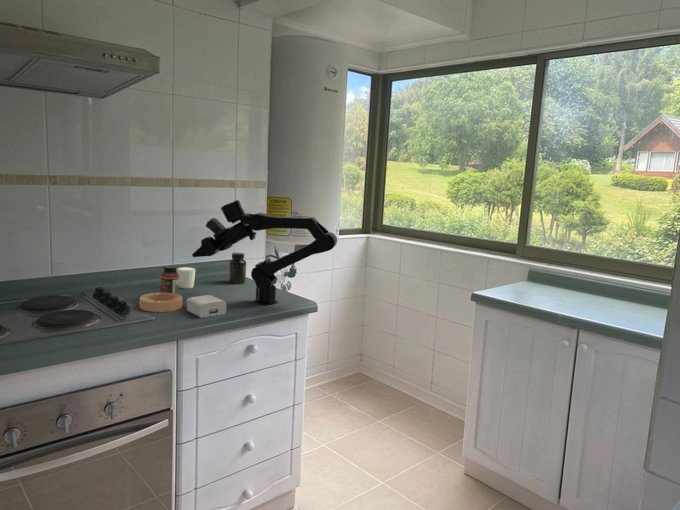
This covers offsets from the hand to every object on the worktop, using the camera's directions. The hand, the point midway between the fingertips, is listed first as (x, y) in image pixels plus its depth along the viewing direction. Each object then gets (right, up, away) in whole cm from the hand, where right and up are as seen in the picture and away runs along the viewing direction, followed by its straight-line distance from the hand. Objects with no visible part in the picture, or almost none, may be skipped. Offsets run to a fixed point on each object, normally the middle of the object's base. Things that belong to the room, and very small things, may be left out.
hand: (198, 253), depth 184 cm
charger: (+5, -19, -15) cm, 25 cm away
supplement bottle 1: (-9, -16, -3) cm, 18 cm away
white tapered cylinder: (-9, -13, +15) cm, 21 cm away
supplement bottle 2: (+8, -12, +27) cm, 31 cm away
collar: (-8, -17, -14) cm, 24 cm away
